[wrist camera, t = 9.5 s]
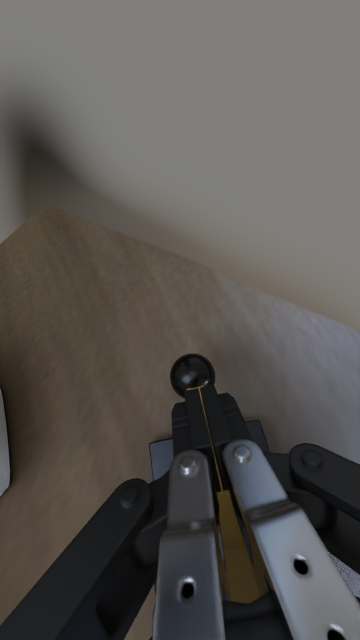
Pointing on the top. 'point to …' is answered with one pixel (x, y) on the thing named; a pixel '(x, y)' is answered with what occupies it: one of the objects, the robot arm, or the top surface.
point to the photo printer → (3, 451)
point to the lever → (241, 578)
